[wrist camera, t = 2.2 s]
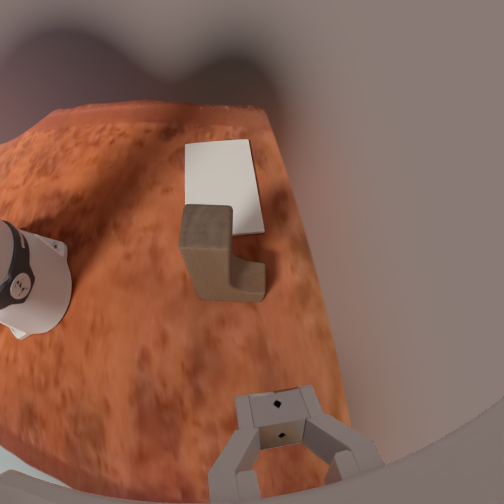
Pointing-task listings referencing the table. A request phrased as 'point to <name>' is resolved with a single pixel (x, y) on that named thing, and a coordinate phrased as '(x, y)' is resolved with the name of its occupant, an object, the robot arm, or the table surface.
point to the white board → (224, 181)
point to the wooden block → (217, 256)
